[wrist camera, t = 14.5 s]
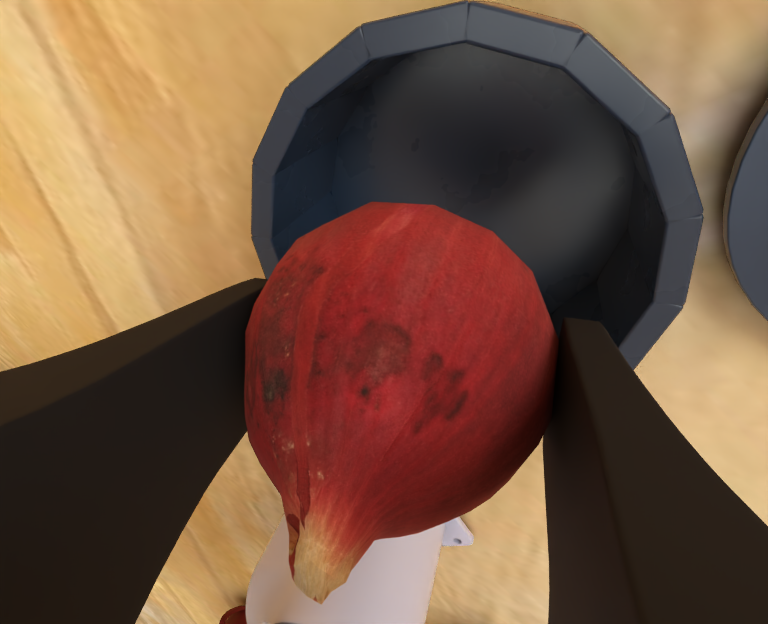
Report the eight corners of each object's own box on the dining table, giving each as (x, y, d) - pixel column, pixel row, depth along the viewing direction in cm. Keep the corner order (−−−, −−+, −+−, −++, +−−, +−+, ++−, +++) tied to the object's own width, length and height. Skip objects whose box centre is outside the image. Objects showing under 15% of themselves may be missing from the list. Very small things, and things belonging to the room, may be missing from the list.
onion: (297, 215, 12) (14, 443, 6) (497, 105, 9) (366, 329, 3) (400, 373, 14) (275, 668, 8) (590, 326, 11) (635, 742, 5)
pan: (414, 360, 20) (382, 444, 17) (266, 136, 17) (177, 176, 13) (701, 277, 15) (755, 376, 11) (575, -102, 11) (587, -167, 7)
